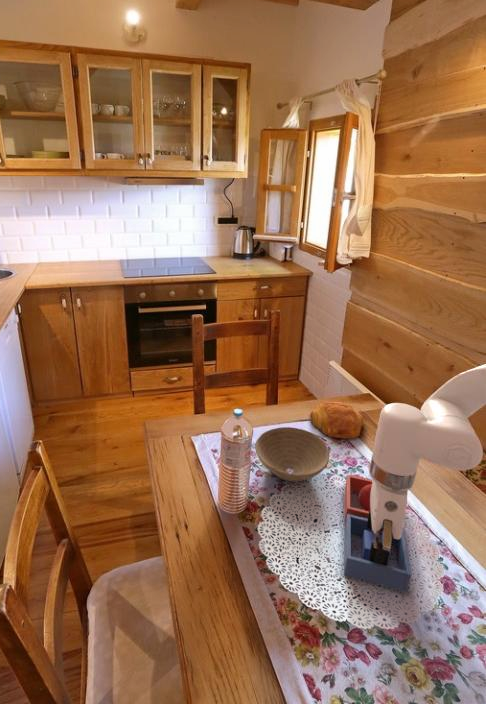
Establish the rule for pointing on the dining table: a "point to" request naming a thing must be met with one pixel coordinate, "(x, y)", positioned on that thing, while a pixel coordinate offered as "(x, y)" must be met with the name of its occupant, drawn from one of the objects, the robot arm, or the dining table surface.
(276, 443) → the bowl
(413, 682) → the dining table surface
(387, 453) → the robot arm
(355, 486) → the terracotta bin
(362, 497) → the onion
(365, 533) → the blue block
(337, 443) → the dining table surface
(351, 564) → the blue bin
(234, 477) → the water bottle
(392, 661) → the dining table surface
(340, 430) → the croissant
